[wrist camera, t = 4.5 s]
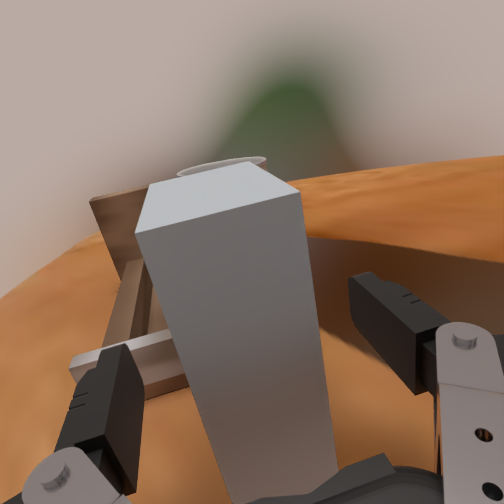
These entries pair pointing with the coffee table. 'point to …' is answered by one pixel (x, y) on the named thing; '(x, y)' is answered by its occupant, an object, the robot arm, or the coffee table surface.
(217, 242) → the tall grey pillar
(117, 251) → the track block
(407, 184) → the coffee table surface
